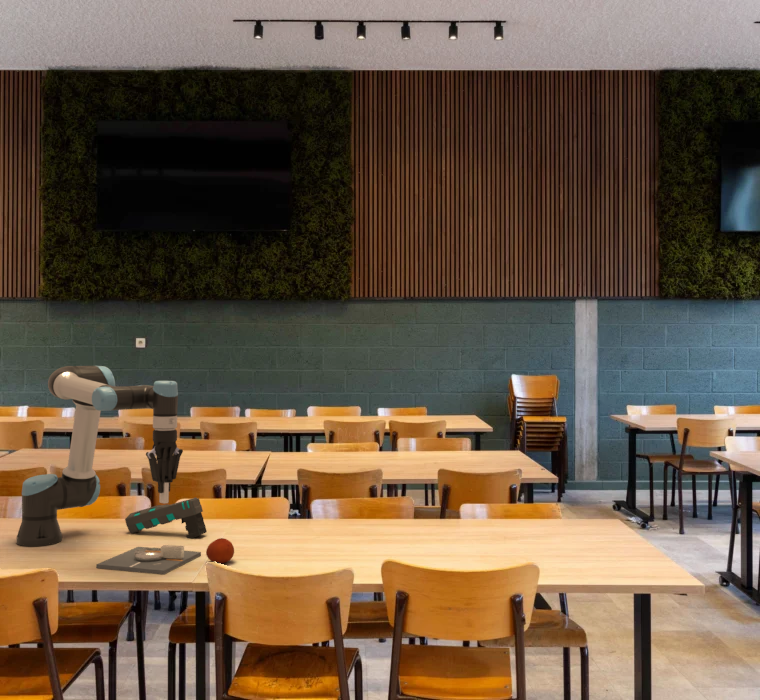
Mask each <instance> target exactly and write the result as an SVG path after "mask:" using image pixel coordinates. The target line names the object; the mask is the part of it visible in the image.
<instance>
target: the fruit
mask: <svg viewBox="0 0 760 700" xmlns="http://www.w3.org/2000/svg"><path fill="white" fill-rule="evenodd" d="M205 552H206V554H205V555H206V557H207V559H208V560H210V561H211V562H212V561H216V562H219V563H218V564H226V563H228V562H229V561H231V560H232V559H233V557H234V554H235V548H234V544H232V542H231V541H230V540H229V539H227V538H222V537H220V538H217V539H215V540H213V541H211V542H210V543H209V544H208V546H207V547H206V550H205Z"/></svg>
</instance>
